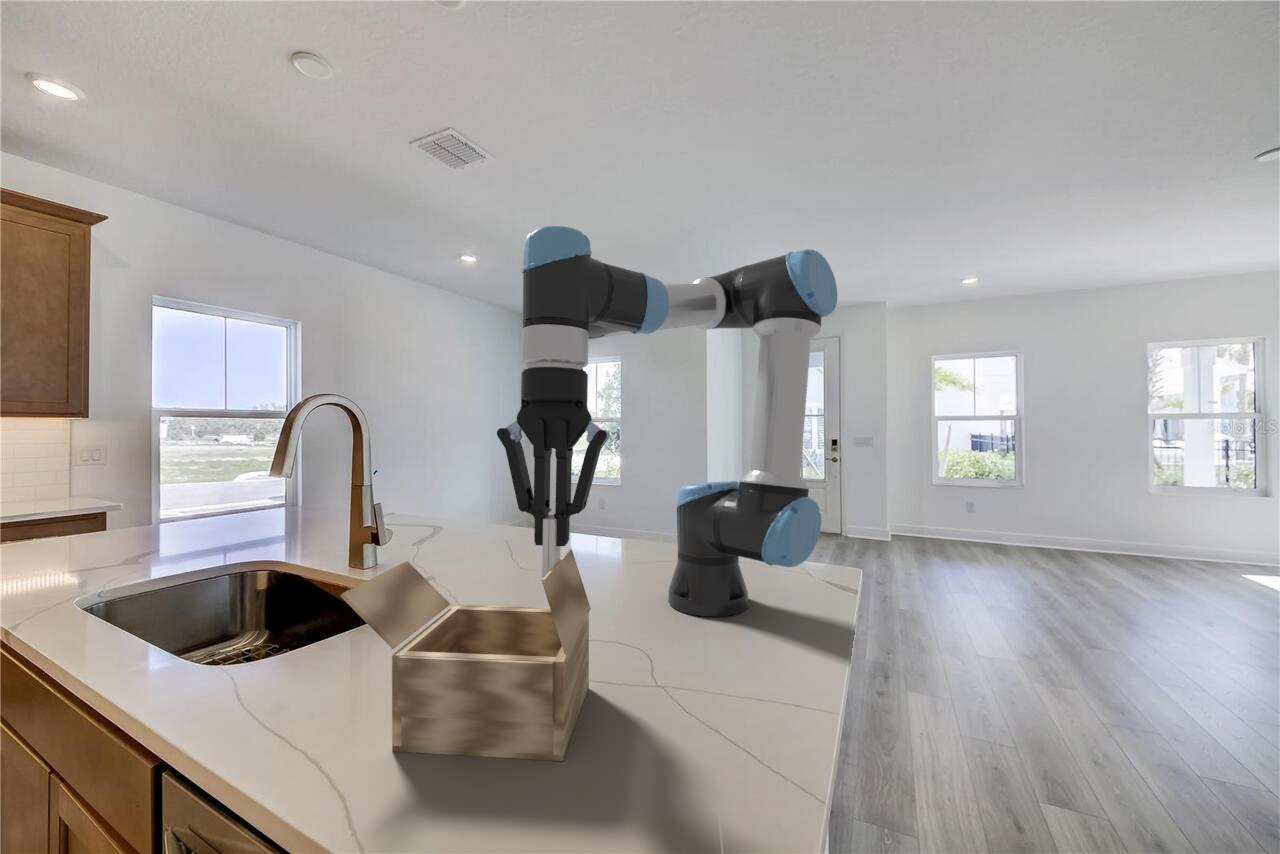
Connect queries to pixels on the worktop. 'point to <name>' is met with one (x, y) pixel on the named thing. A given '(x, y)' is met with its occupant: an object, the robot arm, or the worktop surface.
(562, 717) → the carton
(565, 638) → the flap
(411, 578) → the flap
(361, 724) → the worktop surface
